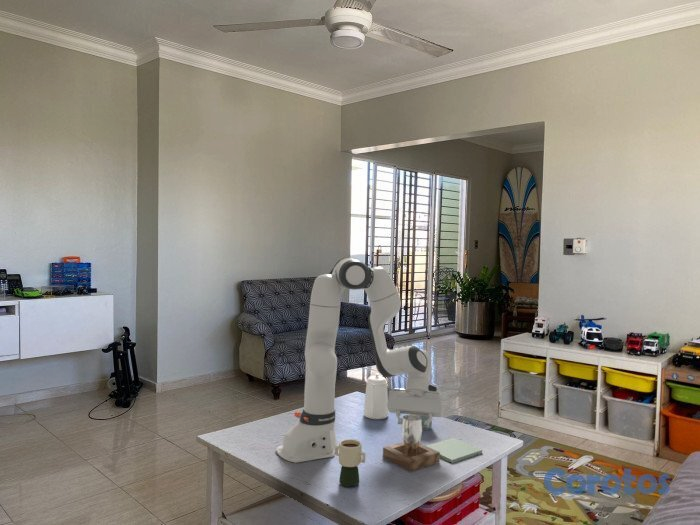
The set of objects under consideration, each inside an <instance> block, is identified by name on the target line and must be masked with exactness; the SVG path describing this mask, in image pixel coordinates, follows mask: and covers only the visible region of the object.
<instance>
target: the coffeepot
mask: <svg viewBox="0 0 700 525" xmlns="http://www.w3.org/2000/svg"><path fill="white" fill-rule="evenodd" d="M386 378H387V377H384V376H383V375H382V376H381V375H380V373H379V372H377V373H374V375H371V376H368V378H367V379H366V380H365V382H366V386H365V394H364V402H363V403H364V404H363V405H364V406H363V416H364V417H365V418H367V419H370V420H383V419H386V418H388V416H389V411H388V409H387V404H388V400H389V397H388V395H389V392H388V380H387V379H386Z"/></svg>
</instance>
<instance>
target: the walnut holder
mask: <svg viewBox="0 0 700 525" xmlns="http://www.w3.org/2000/svg"><path fill="white" fill-rule="evenodd" d="M403 452H404V445H403V441H402V442H398V443H394V444H391V445H387V446H383V447H382V458H384V459H385V460H387V461H389V462H391V463H393V464H395V465H396V464H397V465H396V466H398V467H401V468H402V469H403V470H406V471H407V472H409V473H410V472H414V471H416V470H417V471H418V470H420V469H423V468H425V467H428V466H432V465H436V464H438V463H440V460H441V458H440V452H438V451H436V450H434V449H432V448H430V447H427V445H425V444H423V443H421V442H420V445H419V455H416V456H413V457H409V456H407V455H405V454H403Z"/></svg>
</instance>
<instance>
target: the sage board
mask: <svg viewBox="0 0 700 525" xmlns="http://www.w3.org/2000/svg"><path fill="white" fill-rule="evenodd" d="M426 446H427V447H430V448H432V449H434V450H436V451H438V452H440V459H442V460H444V461H447V462H448V463H450V462H451V464H454V463H458V462H459V461H463V460H465V459H469V458H472V457H474V455H475V456H478V455H481V454H483V449H481V448H479V447H477V446H474V445H472V444H469V443H467V442H465V441H463V440H460V439H458V438H455V437H451V438H448V439H444V440H442V441H438V442H435V443H431V444H428V445H427V444H426ZM480 453H481V454H480ZM477 454H478V455H477ZM471 456H472V457H471ZM468 457H469V458H468Z"/></svg>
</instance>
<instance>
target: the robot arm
mask: <svg viewBox="0 0 700 525" xmlns="http://www.w3.org/2000/svg"><path fill="white" fill-rule="evenodd" d="M395 284H396V283H395V282H394V280H393V278H392V277H391V275H390V273H389V271H388V270H387V269H386V268H385V267H382V266H374V267H371V268H370V267H369V266H368V265H367V264H366V263H364V262H363V261H361V260H359V259H357V258H355V257H343V258H341V259H339V260H338V261H337V262H336V263H335V264H334V266H333V268H332V269H331V271H330V272H329V274H328V273H324V274H320V275H319V276H317V277H316V278H315V279H314V282H313V285H312V288H311V289H312V290H311V294H310V300H309V301H310V302H309V309H308V310H309V311H308V324H307V330H306V339H305V346H304V360H305V379H304V391H303V392H304V395H303V396H304V399H303V405H304V406H303V409H302V412H300V411H299V410H296V411H294V413H293V416H294V417H296V418H297V419H299V420H298V421H297V422H296V423H295V424H294V425H293V426H292V427H291V428H290V429H289V430H288V431H286V432H285V434H284V435H283V442H282V444H280V445H279V446H277V447H276V454H277V455H278V456H279V457H281V458H282V459H284V460H285V461H288V462H291V463H295V464H297V463H302V462H308V461H315V460H320V459H327V458H333V457H335V456H336V455H335V447H336V445H338V444H337V439H336V430H335V423H336V422H335V421H336V409H335V399H336V398H335V395H336V394H335V393H336V392H335V390H336V389H335V388H336V380H337V368H338V358H337V355H336V350H335V348H336V340H337V335H338V331H339V330H338V329H339V324H340V315H341V312H340V311H341V304H342V303H341V300H342V295H343V293H344V291H345V290H346V289H349V290H352V291H353V290H362V289H363V290H364V292H365V294H366V295H367V298H368V301H369V304H370V313H369V314H368V318H367V319H368V327H369V329H368V330H369V332H370V338H371V343H372V347H373V351H374V358H375V366H376V370H377V373H379V375H380V376H381V375H382V377H384V378H387V379H389V378H392V377H395V376H398V375H404V374H407V378H406V381H405V388H396V387H395V388H392V389H389V391H388V404H387V409H388V413H392V414H393V413H394V414H396V418H397V424H398V425H402V422H403V417H401V414H402V415H410V414H411V415H421V416H429V419H428V420H427V421H425V424H424V426H425V427H429V423H430V422H431V421H432V422H433V418H441V417H443V415H444V404H443V398H442V396H441V395H442V393H441V389H440V387H438V386H436V385H434V384H431V383H430V378H431V373H432V360H431V355H430V354H429V352H428V351H427V350H425V349H423V348H418V346H415V345H409V346H408V345H407V346H404V347H399V348H394V349H389V348H388V346H387V342H386V340H387V339H386V335H385V330H384V329H385V328H384V327H385V325H386V324H387V323H388V322H390V321H391V320H392V319H394V317H396V315H398V313H399V311H401V306H402V301H401V297H400V294H399V291H398V289H397V287H396V285H395Z"/></svg>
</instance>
